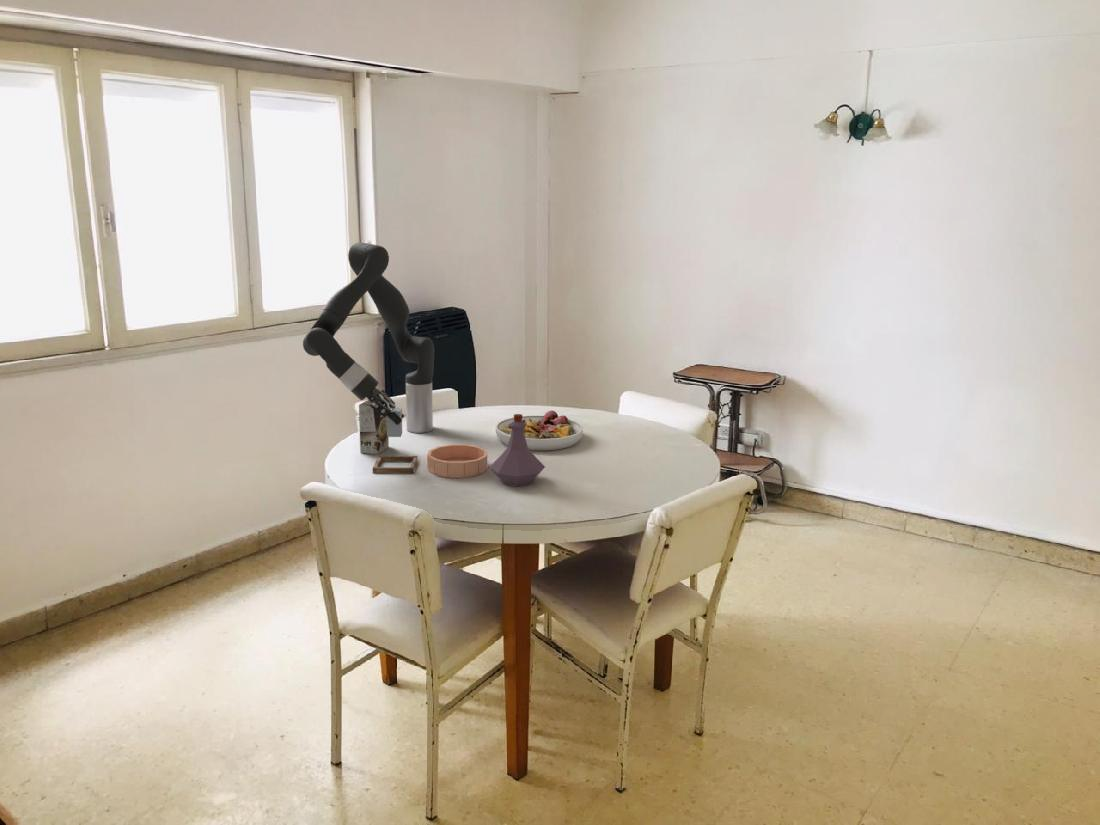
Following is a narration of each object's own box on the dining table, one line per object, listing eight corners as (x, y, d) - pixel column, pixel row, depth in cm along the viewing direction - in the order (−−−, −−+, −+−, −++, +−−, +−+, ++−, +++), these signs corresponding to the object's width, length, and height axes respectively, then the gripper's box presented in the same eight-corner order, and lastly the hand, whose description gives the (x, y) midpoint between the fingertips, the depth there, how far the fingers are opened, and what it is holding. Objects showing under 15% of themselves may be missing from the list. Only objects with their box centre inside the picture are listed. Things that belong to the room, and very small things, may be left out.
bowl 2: (567, 458, 258) (567, 435, 256) (481, 447, 267) (481, 424, 265) (592, 434, 286) (593, 412, 284) (514, 425, 295) (514, 404, 293)
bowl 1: (431, 458, 253) (430, 444, 252) (488, 459, 254) (488, 444, 253) (425, 477, 236) (425, 462, 235) (486, 478, 237) (486, 462, 236)
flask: (477, 481, 234) (477, 415, 229) (515, 468, 247) (516, 405, 241) (518, 494, 224) (520, 426, 219) (556, 480, 236) (558, 415, 231)
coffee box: (378, 454, 256) (376, 405, 252) (359, 453, 257) (357, 404, 253) (389, 446, 264) (388, 399, 260) (371, 445, 266) (369, 397, 262)
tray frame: (378, 460, 250) (378, 455, 250) (417, 460, 251) (417, 456, 251) (372, 473, 239) (372, 468, 238) (413, 473, 239) (413, 468, 239)
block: (389, 432, 244) (388, 407, 242) (402, 433, 244) (401, 407, 242) (387, 436, 240) (386, 411, 238) (400, 437, 241) (399, 411, 238)
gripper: (363, 377, 230) (406, 418, 234) (371, 367, 244) (412, 406, 248) (345, 395, 231) (389, 435, 235) (354, 384, 245) (395, 422, 249)
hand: (400, 420), depth 241 cm, fingers closed on block, 4 cm apart
